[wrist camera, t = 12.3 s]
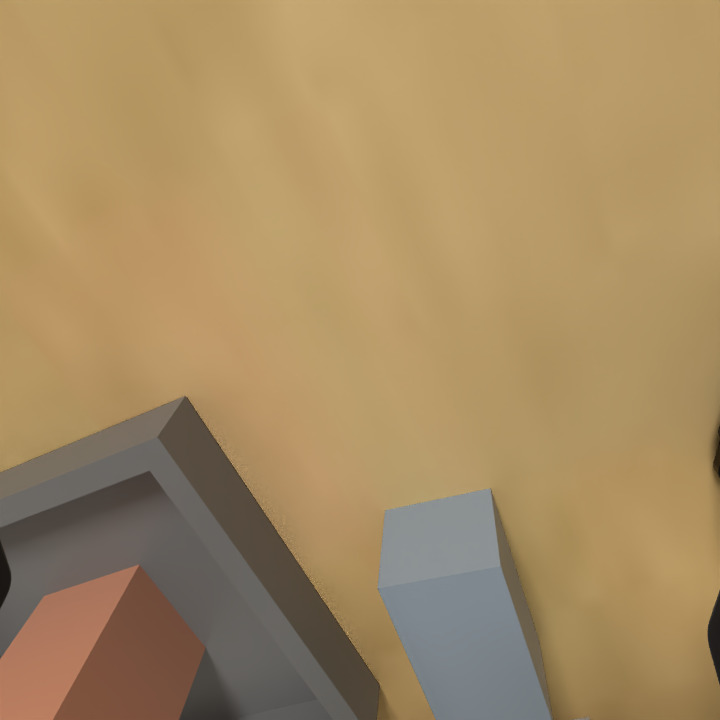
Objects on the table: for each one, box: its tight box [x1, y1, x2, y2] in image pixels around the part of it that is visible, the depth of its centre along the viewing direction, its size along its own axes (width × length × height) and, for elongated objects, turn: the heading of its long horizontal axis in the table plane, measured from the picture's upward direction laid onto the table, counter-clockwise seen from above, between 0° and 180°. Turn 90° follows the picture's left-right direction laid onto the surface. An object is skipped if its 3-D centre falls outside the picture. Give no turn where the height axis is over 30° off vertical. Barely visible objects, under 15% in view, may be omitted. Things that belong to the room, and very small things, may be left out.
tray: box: [0, 396, 380, 720], centre depth 27 cm, size 16×16×3 cm
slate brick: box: [378, 488, 553, 720], centre depth 23 cm, size 8×4×4 cm, turn 19°
